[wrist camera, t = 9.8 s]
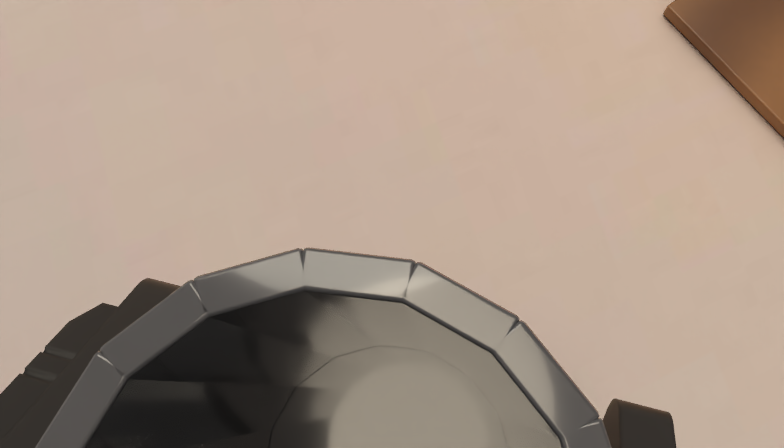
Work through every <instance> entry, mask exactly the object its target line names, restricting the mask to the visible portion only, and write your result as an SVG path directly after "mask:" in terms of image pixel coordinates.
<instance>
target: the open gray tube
mask: <svg viewBox="0 0 784 448" xmlns="http://www.w3.org/2000/svg"><path fill="white" fill-rule="evenodd" d="M598 417H599V414H598V411H597V410H596V409H595V407H594V406H593V405H592V404H591V403H590V401H589V400H588V399H587V398H586V396H585V395H584V394H583V393H582V392H581V390H580V389H579V388H578V387H577V385H576V384H575V383H574V382H573V380H572V379H571V378H570V377H569V376H568V374H567V373H566V372H565V371H564V369H563V368H562V367H561V366H560V365H559V363H558V362H557V361H556V360H555V358H554V357H553V356H552V355H551V354H550V352H549V351H548V350H547V349H546V347H545V346H544V345H543V344H542V343H541V341H540V340H539V339H538V338H537V336H536V335H535V334H534V333H533V332H532V330H531V329H530V328H529V327H528V325H527V324H526V323H525V322H523V321H522V320H520V321H519V317H518V316H517V315H515V314H514V313H512V312H510V311H508V310H506V309H505V308H503V307H501V306H499V305H497V304H496V303H494V302H492V301H490V300H488V299H487V298H485V297H483V296H481V295H479V294H478V293H476V292H474V291H472V290H470V289H468V288H467V287H465V286H463V285H461V284H459V283H458V282H456V281H454V280H452V279H450V278H449V277H447V276H445V275H443V274H441V273H440V272H438V271H436V270H434V269H432V268H431V267H429V266H427V265H425V264H423V263H421V262H417V263H415V261H413V260H411V259H403V258H394V257H386V256H377V255H369V254H360V253H351V252H343V251H334V250H326V249H317V248H305V249H304V250H303V249H299V248H297V249H294V250H290V251H286V252H283V253H279V254H276V255H272V256H268V257H265V258H261V259H258V260H254V261H251V262H247V263H243V264H240V265H236V266H233V267H229V268H225V269H222V270H218V271H215V272H211V273H207V274H204V275H200V276H198V277H196V278H195V279H194V280H190V281H188V282H186V283H185V284H184V285H182V286H181V287H180V288H178V289H177V290H176V291H174V292H173V293H172V294H170V295H169V296H168V297H166V298H165V299H164V300H162V301H161V302H160V303H158V304H157V305H156V306H154V307H153V308H152V309H150V310H149V311H148V312H147V313H145V314H144V315H143V316H141V317H140V318H139V319H137V320H136V321H135V322H133V323H132V324H131V325H129V326H128V327H127V328H125V329H124V330H123V331H121V332H120V333H119V334H117V335H116V336H115V337H113V338H112V339H111V340H109V341H108V342H107V343H105V344H104V345H103V346H102V347H101V348H100V351H98V352H97V353H95V355H94V356H93V358H92V359H91V361H90V362H89V364H88V366H87V367H86V369H85V370H84V372H83V373H82V375H81V376H80V378H79V380H78V381H77V383H76V384H75V386H74V387H73V389H72V391H71V392H70V394H69V395H68V397H67V398H66V400H65V402H64V403H63V405H62V406H61V408H60V409H59V411H58V412H57V414H56V416H55V417H54V419H53V420H52V422H51V423H50V425H49V427H48V428H47V430H46V431H45V433H44V434H43V436H42V438H41V439H40V441H39V442H38V444H37V445H36V447H35V448H612V446H611V443H610V440H609V437H608V434H607V431H606V428H605V425H604V422H603V421H602V419H601V418H598Z"/></svg>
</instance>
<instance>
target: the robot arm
mask: <svg viewBox="0 0 784 448" xmlns="http://www.w3.org/2000/svg"><path fill="white" fill-rule="evenodd" d="M180 287H181V286H178V285H174V284H170V283H166V282H162V281H158V280H154V279H150V278H147V279H144V280H143V281H141V282H140V283H139V284H138V285H137V286H136V287H135V288H134V290H133V291H132V292H131V293H130V294H129V295H128V296H127V297H126V299H125V300H124V301H123V302H122V303H121V304H120V305H119V307H117V306H113V305H109V304H105V303H102V304H100V305H98V306H96V307H95V308H93V309H91V310H89V311H87V312H86V313H84V314H82V315H80V316H78V317H76V318H75V319H73V320H71V321H69V322H68V323H67V324H66V325H65V326H64V328H63V329H62V330H61V331H60V332H59V333H58V334H57V335H56V336H55V337H54V338H53V339H52V340H51V341H50V342H49V343H48V344H47V345H46V347H45V350H44V352H43V353H42V352H40V353H39V354H38V355H37V356H36V357H35V358H34V359H33V360H32V361H31V362H30V363H29V365H28V366H27V367H26V368H25V371H24V373H23V374H19V375H18V376H17V377H16V378H15V379H14V380H13V381H12V382H11V384H10V385H9V386H8V387H7V388H6V389H5V390H4V391H3V392H2V393H1V394H0V448H35V447H36V445H37V444H38V442H39V441H40V439H41V438H42V436H43V434H44V433H45V431H46V430H47V428H48V427H49V425H50V423H51V422H52V420H53V419H54V417H55V416H56V414H57V412H58V411H59V409H60V408H61V406H62V405H63V403H64V402H65V400H66V398H67V397H68V395H69V394H70V392H71V391H72V389H73V387H74V386H75V384H76V383H77V381H78V380H79V378H80V376H81V375H82V373H83V372H84V370H85V369H86V367H87V366H88V364H89V362H90V361H91V359H92V358H93V356H94V355H95V353H97V352H98V351H100V348H101V347H102V346H103V345H104V344H105V343H107V342H108V341H109V340H111V339H112V338H113V337H115V336H116V335H117V334H119V333H120V332H121V331H123V330H124V329H125V328H127V327H128V326H129V325H131V324H132V323H133V322H135V321H136V320H137V319H139V318H140V317H141V316H143V315H144V314H145V313H147V312H148V311H149V310H150V309H152V308H153V307H154V306H156V305H157V304H158V303H160V302H161V301H162V300H164V299H165V298H166V297H168V296H169V295H170V294H172V293H173V292H174V291H176V290H177V289H178V288H180ZM603 422H604V425H605V428H606V431H607V434H608V437H609V440H610V443H611V446H612V448H676V442H675V434H674V425H673V419H672V416H671V415H670V413H669V412H665V411H661V410H658V409H654V408H650V407H646V406H642V405H638V404H634V403H630V402H626V401H622V400H618V399H613V400H612V401H611V403H610V405H609V407H608V409H607V411H606V414H605V416H604V419H603Z"/></svg>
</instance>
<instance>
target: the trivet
mask: <svg viewBox="0 0 784 448" xmlns="http://www.w3.org/2000/svg"><path fill="white" fill-rule="evenodd" d="M663 14H664V16H665V17H666V18H667V19H668V20H669V21H670V22H671V23H672V24H673V25H674V26H675V27H676V28H677V29H678V30H679V31H680V32H681V33H682V34H683V35H684V36H685V37H686V38H687V39H688V40H689V41H690V42H691V43H692V44H693V45H694V46H695V47H696V48H697V49H698V50H699V51H700V52H701V53H702V54H703V56H704V57H705V58H706V59H707V60H708V61H709V62H710V63H711V64H712V65H713V66H714V67H715V68H716V69H717V70H718V71H719V72H720V73H721V74H722V75H723V76H724V77H725V78H726V79H727V80H728V81H729V82H730V83H731V84H732V85H733V86H734V87H735V88H736V89H737V90H738V91H739V92H740V93H741V94H742V96H743V97H744V98H745V99H746V100H747V101H748V102H749V103H750V104H751V105H752V106H753V107H754V108H755V109H756V110H757V111H758V112H759V113H760V114H761V115H762V116H763V117H764V118H765V119H766V120H767V121H768V122H769V123H770V124H771V125H772V126H773V127H774V128H775V129H776V130H777V131H778V132H779V133H780V134H781V136H782V137H783V138H784V0H675V1H673V2H672V3H671V4H669V5H668V6H667V8H666V10H665V11H664V13H663Z"/></svg>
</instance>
